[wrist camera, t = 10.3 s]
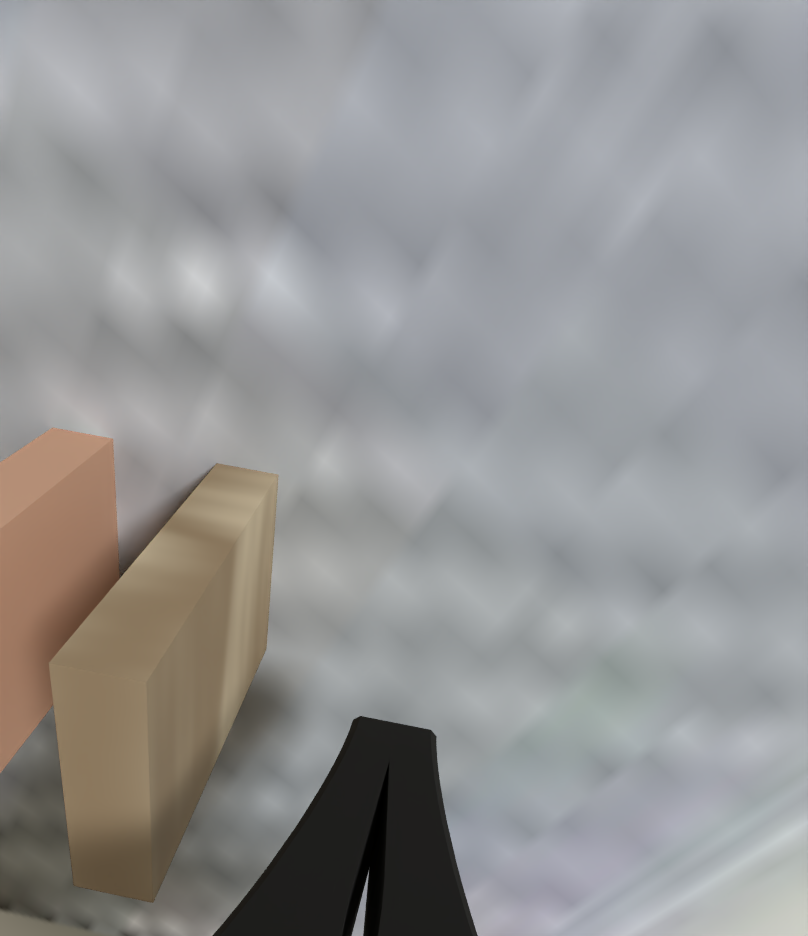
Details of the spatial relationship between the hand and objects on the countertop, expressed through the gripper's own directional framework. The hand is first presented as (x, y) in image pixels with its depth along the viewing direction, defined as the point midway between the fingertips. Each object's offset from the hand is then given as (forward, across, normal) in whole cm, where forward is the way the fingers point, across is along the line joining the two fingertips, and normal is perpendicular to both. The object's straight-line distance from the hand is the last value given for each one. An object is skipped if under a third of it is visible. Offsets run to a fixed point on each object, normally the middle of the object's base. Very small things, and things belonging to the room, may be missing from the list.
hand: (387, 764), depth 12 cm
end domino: (+5, +4, 0) cm, 6 cm away
